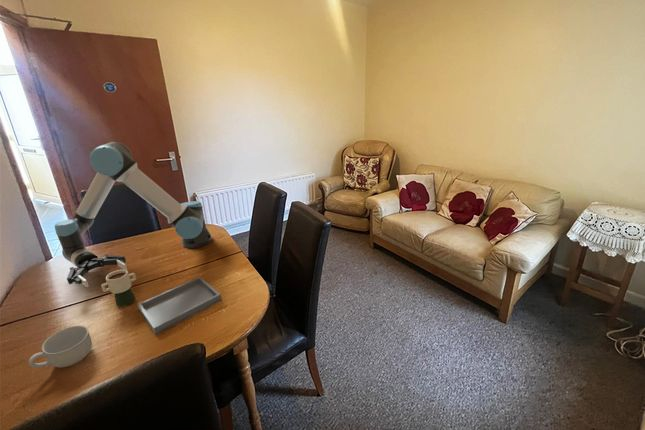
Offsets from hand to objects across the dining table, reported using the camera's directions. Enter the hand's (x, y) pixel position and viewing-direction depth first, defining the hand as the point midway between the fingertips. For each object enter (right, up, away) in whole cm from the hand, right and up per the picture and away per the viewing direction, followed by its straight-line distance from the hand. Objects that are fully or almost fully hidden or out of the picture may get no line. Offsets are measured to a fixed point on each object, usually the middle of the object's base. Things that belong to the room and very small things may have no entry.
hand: (106, 275), depth 113 cm
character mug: (+9, -11, -1) cm, 14 cm away
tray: (+31, -11, -4) cm, 33 cm away
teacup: (+8, -21, -26) cm, 34 cm away
